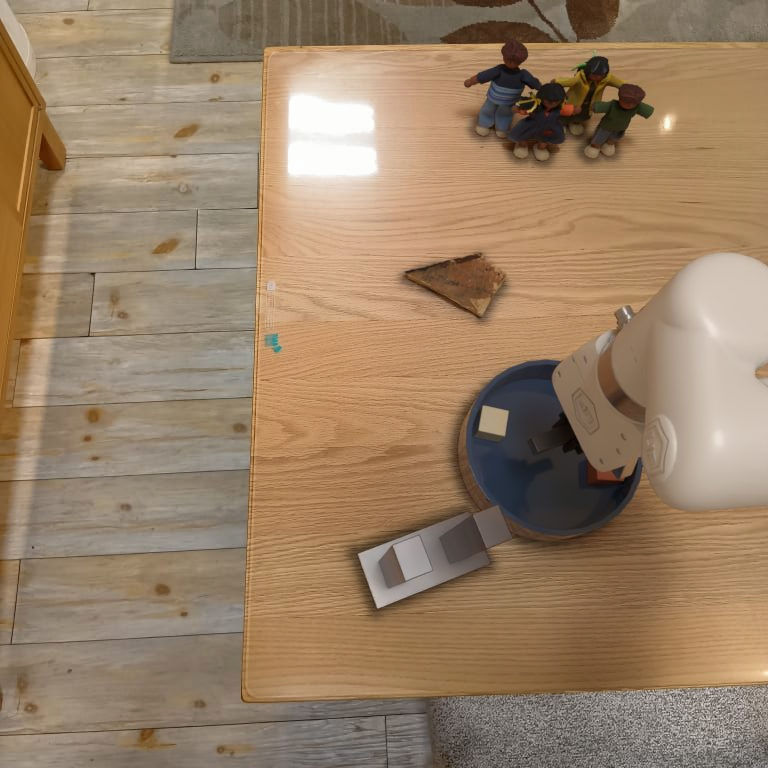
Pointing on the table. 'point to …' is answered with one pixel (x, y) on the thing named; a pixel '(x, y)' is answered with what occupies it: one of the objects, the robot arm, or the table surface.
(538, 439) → the stirring stick
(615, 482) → the terracotta block
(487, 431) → the cream block
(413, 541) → the stick stand
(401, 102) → the table surface
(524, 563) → the table surface
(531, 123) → the doll family
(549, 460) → the bowl
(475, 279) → the shard
